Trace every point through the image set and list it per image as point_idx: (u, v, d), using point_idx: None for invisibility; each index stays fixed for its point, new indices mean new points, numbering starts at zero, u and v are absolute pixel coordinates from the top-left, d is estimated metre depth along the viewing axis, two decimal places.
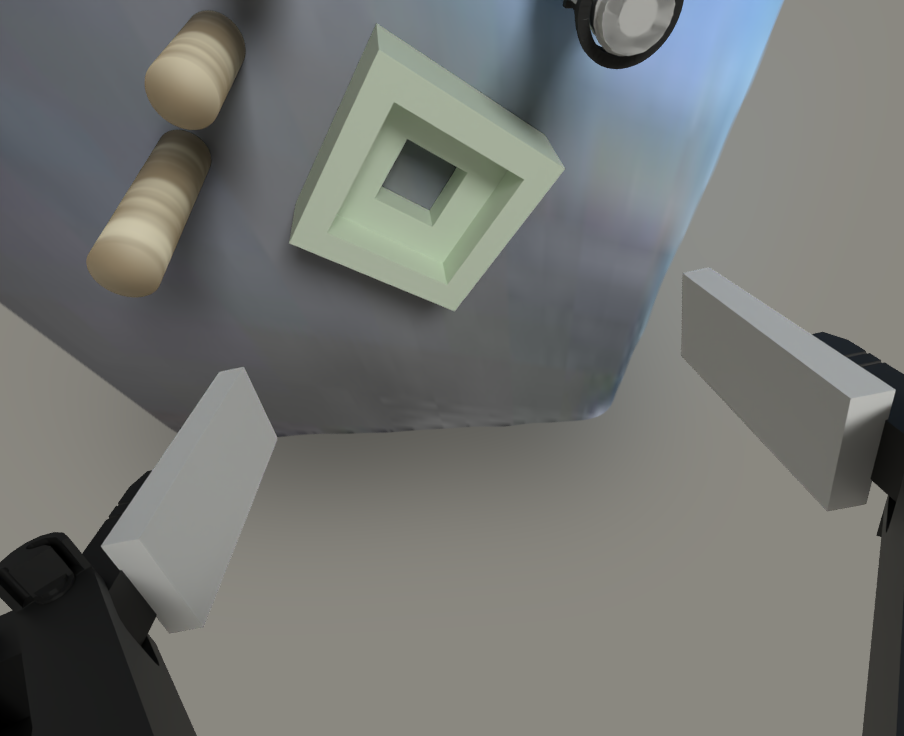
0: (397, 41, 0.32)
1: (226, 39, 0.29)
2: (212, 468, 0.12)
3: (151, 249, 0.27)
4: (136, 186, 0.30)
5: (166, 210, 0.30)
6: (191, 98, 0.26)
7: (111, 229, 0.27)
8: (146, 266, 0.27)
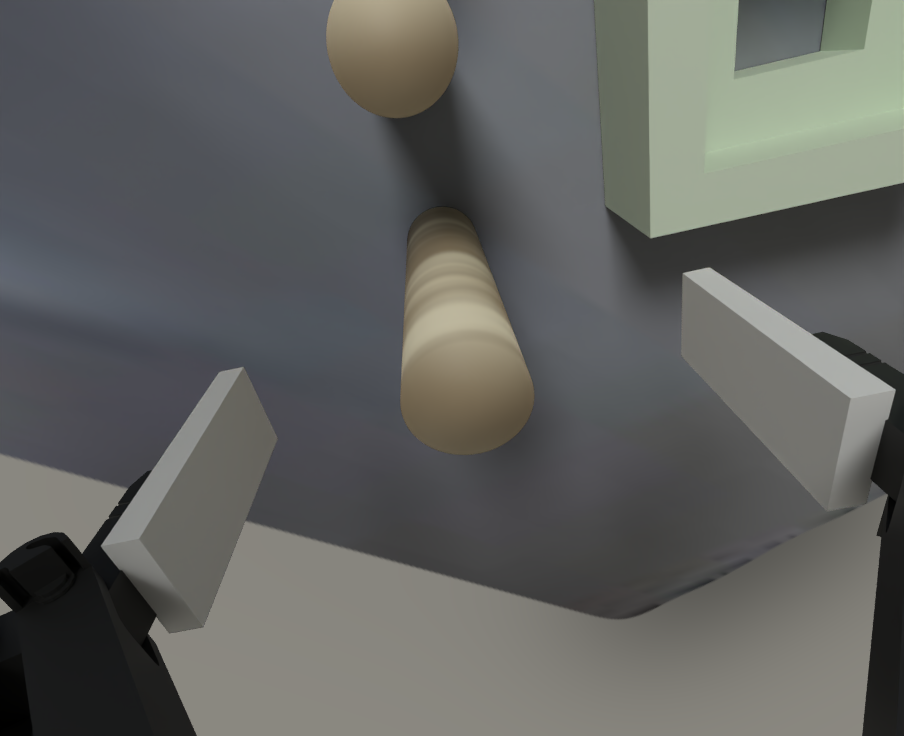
0: None
1: None
2: (212, 468, 0.12)
3: (487, 333, 0.13)
4: (411, 283, 0.18)
5: (467, 279, 0.16)
6: (407, 38, 0.13)
7: (411, 345, 0.14)
8: (496, 368, 0.13)
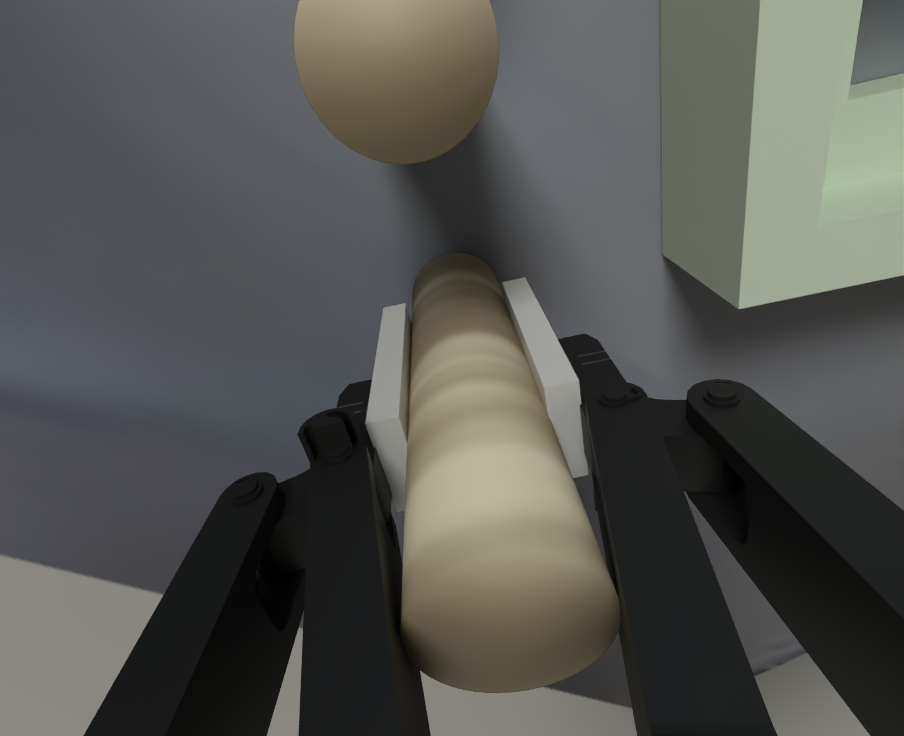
0: None
1: None
2: (409, 380, 0.14)
3: (544, 520, 0.08)
4: (418, 381, 0.13)
5: (500, 387, 0.11)
6: (420, 44, 0.09)
7: (418, 520, 0.09)
8: (563, 585, 0.07)
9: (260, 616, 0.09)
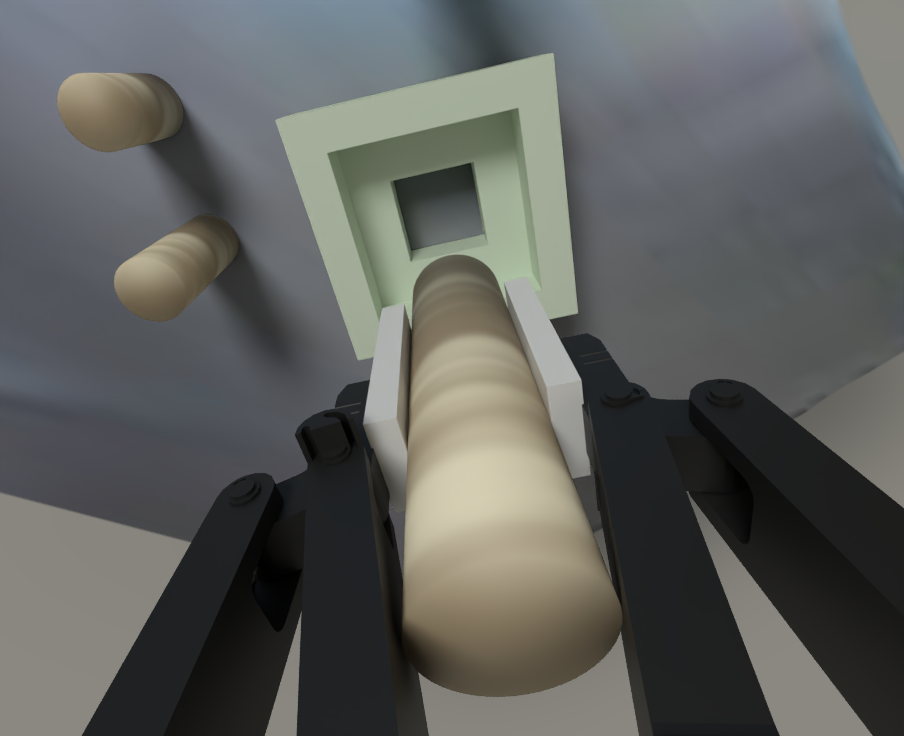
0: (317, 108, 0.29)
1: (193, 227, 0.30)
2: (408, 380, 0.14)
3: (546, 524, 0.08)
4: (418, 383, 0.13)
5: (501, 391, 0.11)
6: (157, 287, 0.26)
7: (420, 525, 0.09)
8: (564, 589, 0.07)
9: (258, 616, 0.09)
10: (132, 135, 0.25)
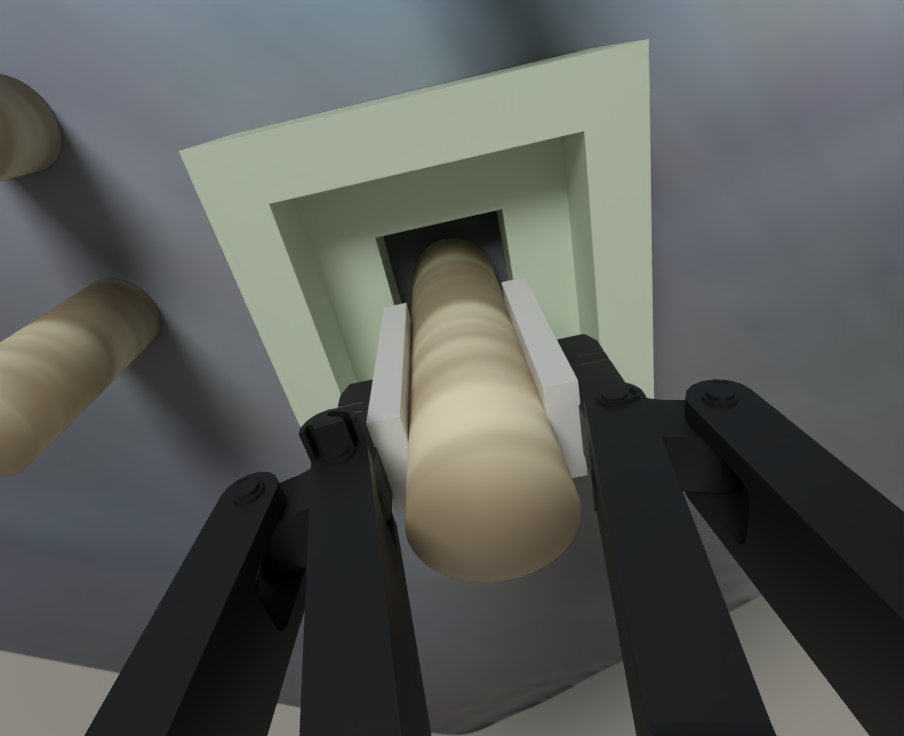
0: (263, 127, 0.19)
1: (76, 308, 0.20)
2: None
3: (520, 433, 0.10)
4: (418, 342, 0.15)
5: (489, 342, 0.13)
6: None
7: (420, 441, 0.11)
8: (533, 482, 0.10)
9: (262, 615, 0.09)
10: None
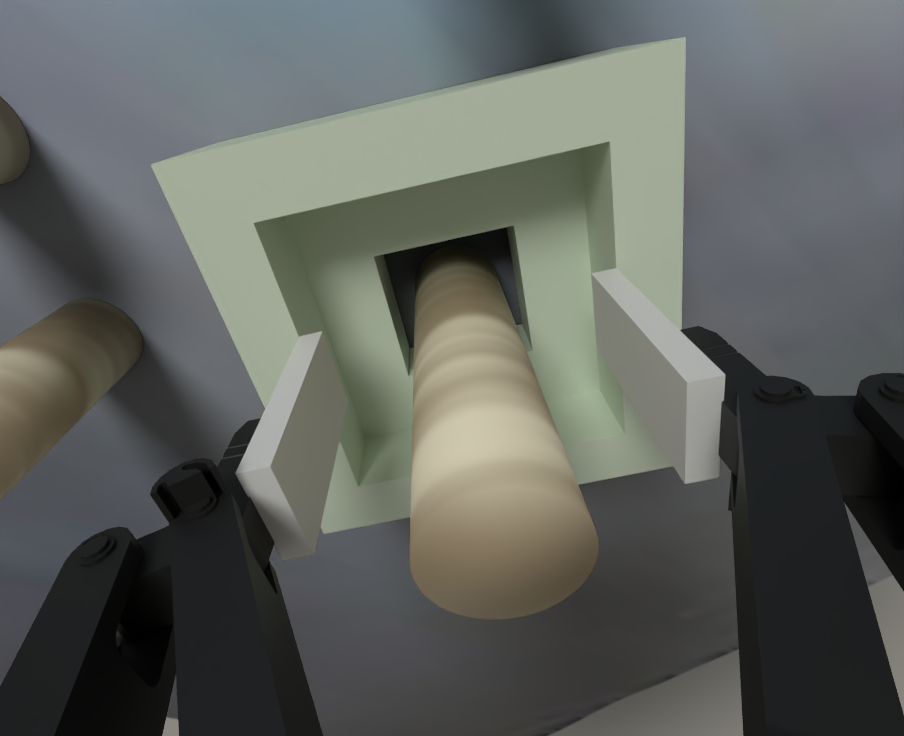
0: (250, 135, 0.17)
1: (45, 333, 0.18)
2: (309, 417, 0.14)
3: (533, 464, 0.09)
4: (422, 357, 0.14)
5: (497, 360, 0.12)
6: None
7: (425, 469, 0.10)
8: (548, 518, 0.09)
9: (128, 673, 0.09)
10: None
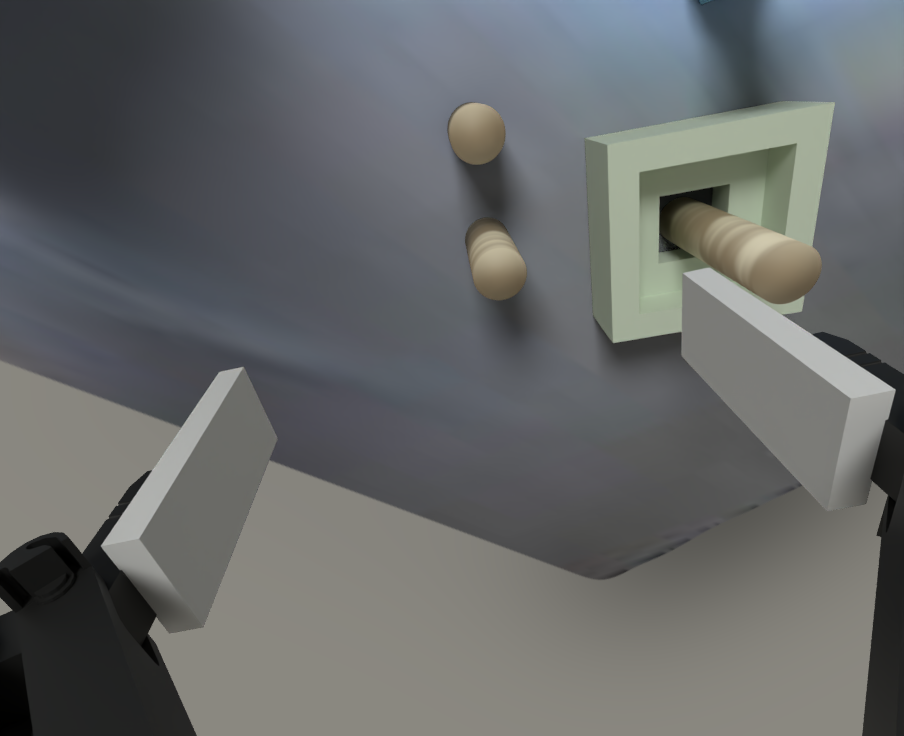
0: (608, 135, 0.36)
1: (497, 227, 0.37)
2: (212, 468, 0.12)
3: (801, 242, 0.28)
4: (714, 230, 0.33)
5: (759, 225, 0.31)
6: (505, 272, 0.33)
7: (755, 249, 0.29)
8: (808, 257, 0.28)
9: None
10: (498, 152, 0.32)
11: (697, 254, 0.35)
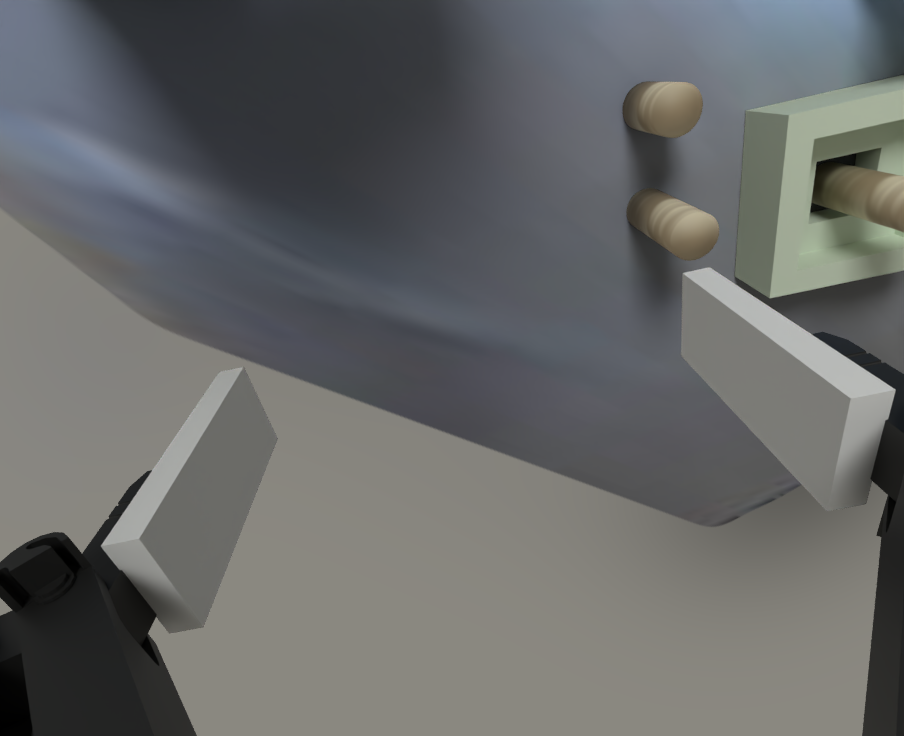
0: (772, 107, 0.40)
1: (670, 196, 0.41)
2: (212, 468, 0.12)
3: None
4: (885, 189, 0.37)
5: None
6: (700, 234, 0.36)
7: None
8: None
9: None
10: (694, 125, 0.36)
11: (860, 212, 0.39)
